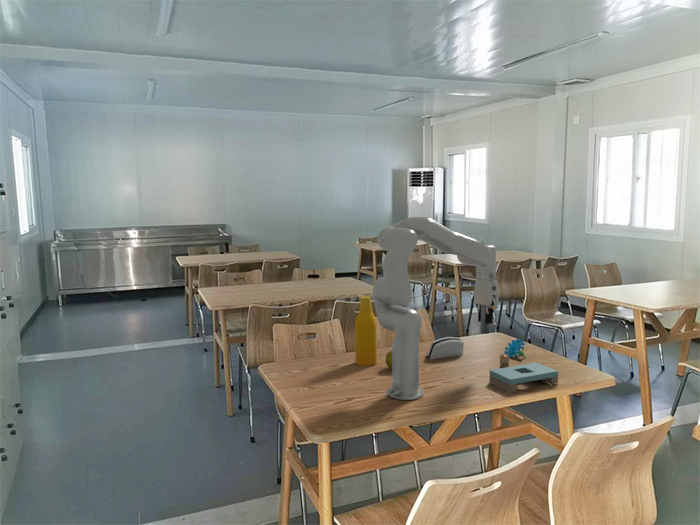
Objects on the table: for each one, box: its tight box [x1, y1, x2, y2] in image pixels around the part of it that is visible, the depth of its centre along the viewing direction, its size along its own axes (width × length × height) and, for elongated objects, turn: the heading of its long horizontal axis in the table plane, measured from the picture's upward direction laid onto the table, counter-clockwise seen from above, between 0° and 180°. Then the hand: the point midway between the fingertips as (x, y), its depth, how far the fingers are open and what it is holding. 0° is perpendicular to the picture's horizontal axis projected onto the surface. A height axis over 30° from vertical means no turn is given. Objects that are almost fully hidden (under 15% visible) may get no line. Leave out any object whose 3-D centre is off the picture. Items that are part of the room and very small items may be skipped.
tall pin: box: [480, 305, 491, 335], centre depth 216 cm, size 4×4×12 cm
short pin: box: [499, 353, 510, 369], centre depth 222 cm, size 4×4×6 cm
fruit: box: [385, 349, 392, 370], centre depth 225 cm, size 10×9×8 cm
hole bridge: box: [489, 362, 559, 394], centre depth 205 cm, size 22×12×5 cm, turn 113°
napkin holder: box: [425, 336, 465, 360], centre depth 242 cm, size 17×5×10 cm, turn 113°
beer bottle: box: [354, 295, 378, 367], centre depth 233 cm, size 9×9×29 cm
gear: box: [503, 338, 527, 359], centre depth 241 cm, size 11×6×10 cm
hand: (485, 322), depth 216 cm, fingers closed on tall pin, 3 cm apart
